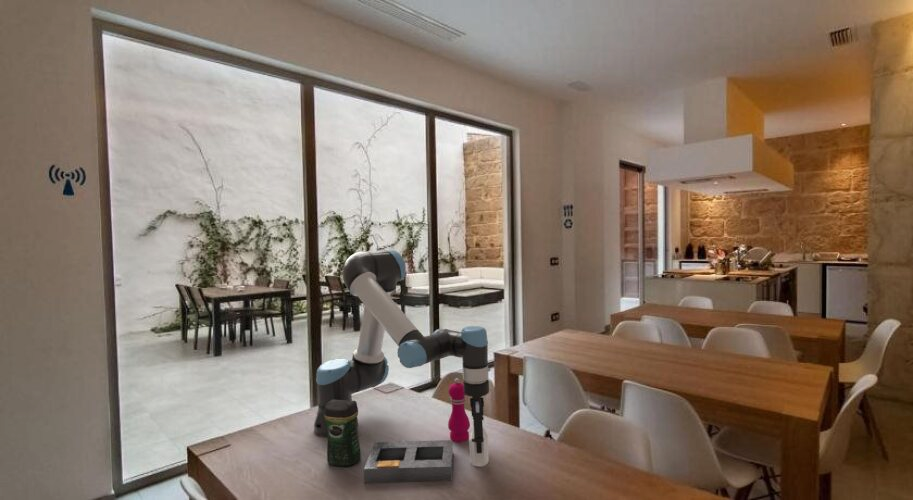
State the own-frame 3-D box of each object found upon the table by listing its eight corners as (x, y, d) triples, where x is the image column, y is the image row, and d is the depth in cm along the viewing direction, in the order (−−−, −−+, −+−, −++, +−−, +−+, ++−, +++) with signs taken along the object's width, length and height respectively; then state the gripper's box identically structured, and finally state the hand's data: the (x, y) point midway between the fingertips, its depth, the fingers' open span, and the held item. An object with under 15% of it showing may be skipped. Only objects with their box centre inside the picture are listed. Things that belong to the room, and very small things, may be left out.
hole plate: (375, 455, 144) (374, 441, 144) (452, 452, 144) (452, 438, 144) (364, 483, 128) (363, 467, 128) (451, 480, 128) (450, 465, 128)
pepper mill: (468, 443, 150) (465, 382, 149) (446, 442, 151) (443, 381, 150) (472, 433, 157) (469, 375, 156) (451, 432, 158) (448, 374, 157)
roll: (481, 427, 133) (464, 424, 136) (483, 468, 134) (466, 464, 137) (490, 419, 138) (474, 416, 141) (492, 459, 139) (475, 455, 142)
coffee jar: (364, 456, 144) (361, 397, 143) (351, 469, 136) (348, 407, 135) (337, 453, 147) (334, 395, 146) (322, 465, 139) (319, 404, 138)
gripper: (491, 394, 125) (494, 473, 126) (486, 367, 148) (489, 433, 149) (463, 394, 125) (466, 473, 126) (463, 368, 149) (466, 434, 150)
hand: (478, 452), depth 138 cm, fingers open, 12 cm apart
